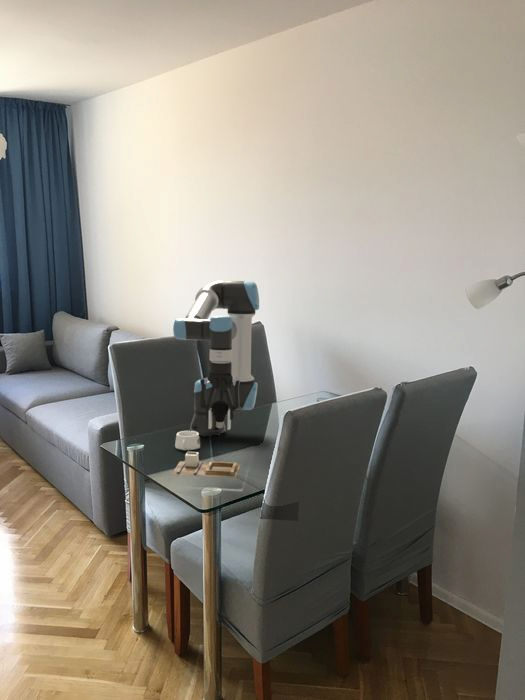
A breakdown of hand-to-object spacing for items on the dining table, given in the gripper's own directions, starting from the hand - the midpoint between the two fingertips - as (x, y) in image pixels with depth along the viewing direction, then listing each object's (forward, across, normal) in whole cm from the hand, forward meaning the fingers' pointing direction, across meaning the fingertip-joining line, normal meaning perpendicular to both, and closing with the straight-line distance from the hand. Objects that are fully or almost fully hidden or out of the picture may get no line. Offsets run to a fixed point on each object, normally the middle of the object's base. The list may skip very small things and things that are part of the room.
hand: (219, 428), depth 205 cm
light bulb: (0, 0, 0) cm, 1 cm away
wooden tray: (+15, -4, 0) cm, 16 cm away
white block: (+15, -10, +3) cm, 18 cm away
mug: (+16, -17, +24) cm, 33 cm away
